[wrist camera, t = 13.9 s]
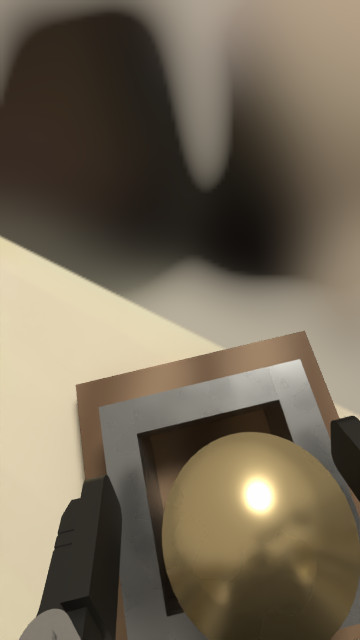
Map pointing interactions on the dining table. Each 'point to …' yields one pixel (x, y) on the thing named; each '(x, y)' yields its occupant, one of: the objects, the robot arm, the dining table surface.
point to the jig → (184, 442)
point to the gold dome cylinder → (260, 542)
